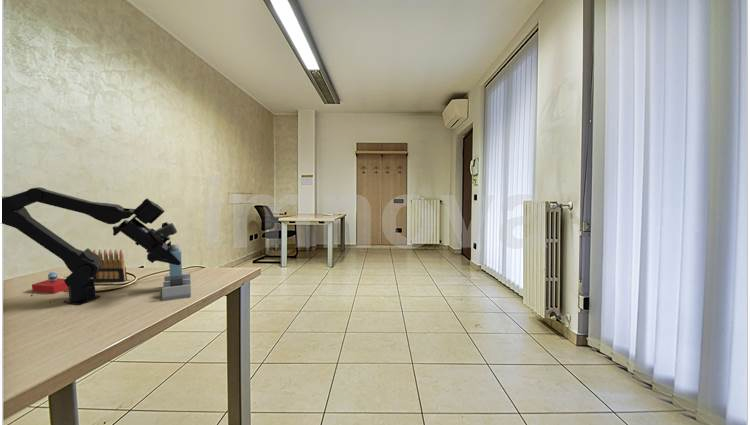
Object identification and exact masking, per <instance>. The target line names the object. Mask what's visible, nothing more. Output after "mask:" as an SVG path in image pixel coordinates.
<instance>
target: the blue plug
mask: <svg viewBox="0 0 750 425" xmlns="http://www.w3.org/2000/svg"><path fill="white" fill-rule="evenodd" d="M170 252H171V253H172V254H173V255H174V256H175V257H176V258H177V259H178V260H179V261H180V262H181V264H180V265H175V264H170V263H168V264H169V265H168V266H169V276H170V277H172V276H182V274H183V262H182V260H183V259H182V249H181V248H180V245H179V244H178V243H177V244H171V250H170Z"/></svg>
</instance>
